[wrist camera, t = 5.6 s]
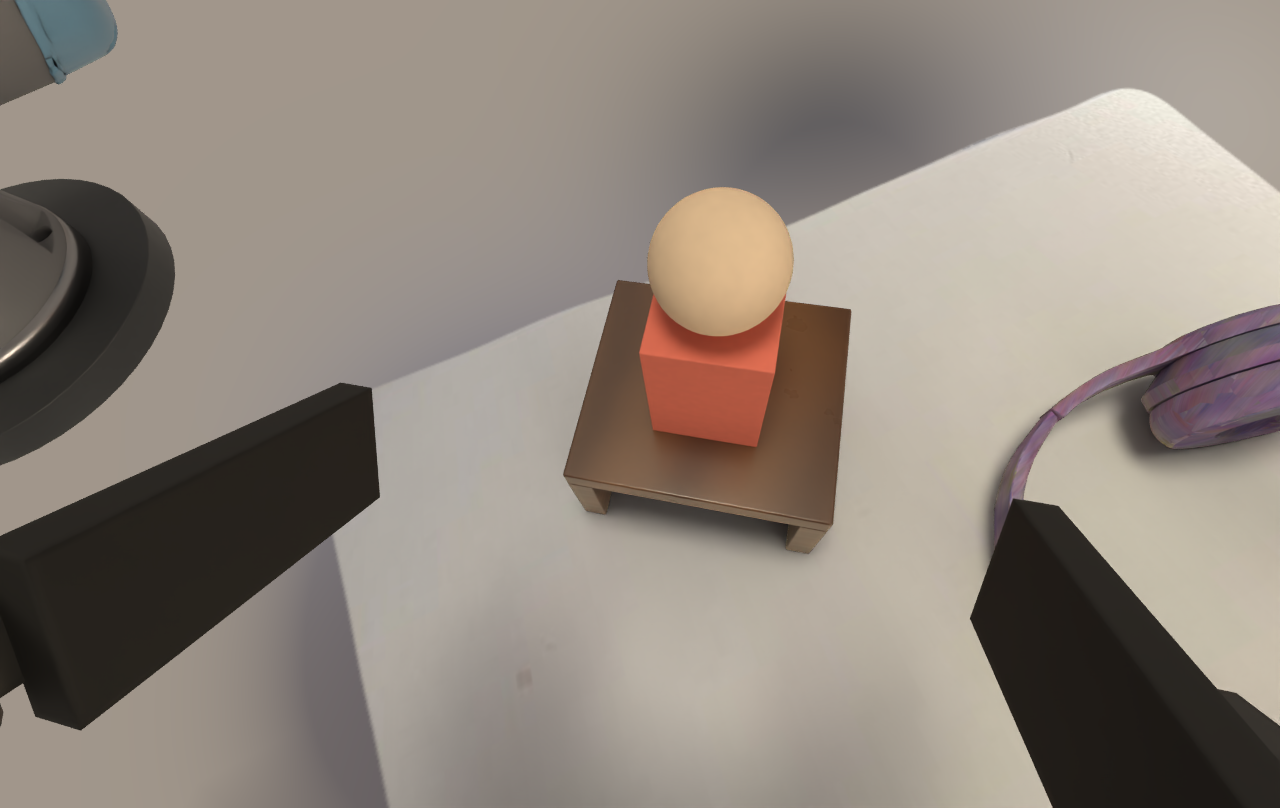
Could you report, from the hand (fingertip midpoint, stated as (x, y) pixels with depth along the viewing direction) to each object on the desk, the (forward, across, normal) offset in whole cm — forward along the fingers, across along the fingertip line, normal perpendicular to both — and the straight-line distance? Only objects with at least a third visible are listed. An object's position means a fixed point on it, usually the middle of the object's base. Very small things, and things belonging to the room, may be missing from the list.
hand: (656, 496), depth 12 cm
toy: (+16, 0, -3) cm, 17 cm away
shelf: (+21, 0, -7) cm, 22 cm away
